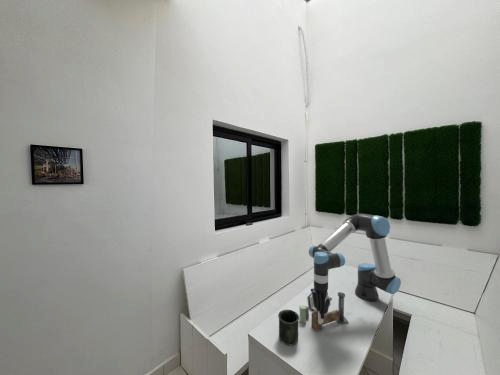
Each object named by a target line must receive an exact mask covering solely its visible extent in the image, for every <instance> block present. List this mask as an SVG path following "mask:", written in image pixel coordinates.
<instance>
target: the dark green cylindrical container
mask: <svg viewBox="0 0 500 375" xmlns="http://www.w3.org/2000/svg"><path fill="white" fill-rule="evenodd" d="M277 317H278V338H279V340H280V341H281V343H283V344H284V345H287V346H293V345H295V344H296V343H297V342H298V340H299V321H300V319H299V317H300V314H298V313H297V312H296V311H295V310H292V309H283V310H280V311H279V312H278V315H277Z"/></svg>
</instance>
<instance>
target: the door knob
mask: <svg viewBox="0 0 500 375" xmlns="http://www.w3.org/2000/svg"><path fill="white" fill-rule="evenodd" d="M337 297H338V309H337V310H338V311H339V320H336V321H335V322H337V324H338V325H342V324H346V325H347V324H349V322H350V321H349V320H348V318H346V317H345V298H346V294H345V293H344V292H340V291H339V292H337Z"/></svg>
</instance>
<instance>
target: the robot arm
mask: <svg viewBox="0 0 500 375" xmlns="http://www.w3.org/2000/svg"><path fill="white" fill-rule="evenodd" d="M390 229H391V225H390V222H389V221H388V219H387V218H386V217H384V216H380V215H377V214H376V215H374V214H370V213H369V214H368V213H356V214H353V215H351V216H349V217H347V218H346V219H345V220H344V221H343V222H342V224H341V225H340V226H339V227H337V229H335V230H334V231H333V232H332V233H330V235H329V236H328V237H326V238H325V239H324V240H322V241H321V242H320V243H319V244H318V245H317V246H316V245H312V246H310V248H309V249H308V254H309V256H310V257H311V258H312V259H313V288H311V289H310V292H311V293H312V297H313V303H314V307H315V308H316V309H317V316H318V323H319V324H322V323H323V318H324V314H325V313H328V312H329V308H330V306H331V305H330V304H331V301H332V299H333V298H332V297H330V296H329V292H328V290H329V270H331V269H332V270H333V269H336V268H340V267H343V266H345V264H346V258H345V255H343V254H342V253H339V252H335V253H333V252H332V251H333V250H334V249H335V248H336V247H338V245H340V244H341V243H342V242H343V241H344V240H345V239H347V237H349V236H350V235H351V234H354V233H356V232H357V231H363V232H364V233H365V235H366V237H367V239H369V242H370V247H371V252H372V255H373V256H372V257H373V261H374V264H373V263H367V262H366V263H359V264H358V266H357V284H356V286H355V288H354V294H355V296H356V297H358V298H359V299H361V300H363V301H366V302H377V301H379V292H378V290H377V289H380V290H382V291H383V292H385V293H388V294H390V295H395V294H397V293H398V292H399V290H400V288H401V285H402V284H401V283H402V281H401V280H402V279H400V278H399V277H398V276H396V273H395V271H394V270H393V269H392V267H391V263H390V256H389V253H388V248H387V243H386V242H387V241H386V238H387V237H388V235H389V234H390V231H391V230H390ZM325 300H326V301H325Z"/></svg>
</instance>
